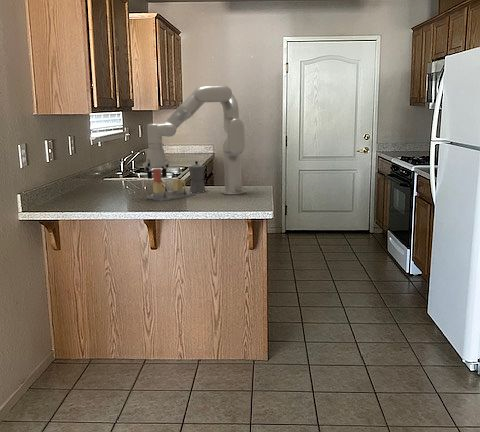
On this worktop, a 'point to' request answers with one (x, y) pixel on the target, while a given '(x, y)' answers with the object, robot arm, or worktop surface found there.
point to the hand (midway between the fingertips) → (157, 177)
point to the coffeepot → (197, 178)
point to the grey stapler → (165, 186)
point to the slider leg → (158, 182)
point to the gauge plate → (173, 196)
